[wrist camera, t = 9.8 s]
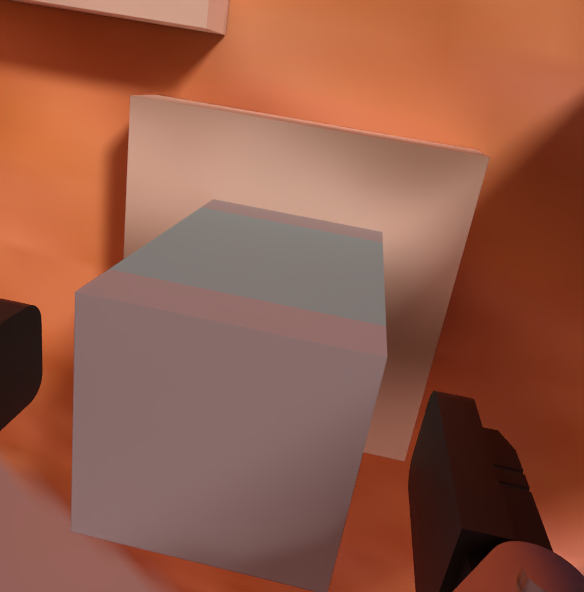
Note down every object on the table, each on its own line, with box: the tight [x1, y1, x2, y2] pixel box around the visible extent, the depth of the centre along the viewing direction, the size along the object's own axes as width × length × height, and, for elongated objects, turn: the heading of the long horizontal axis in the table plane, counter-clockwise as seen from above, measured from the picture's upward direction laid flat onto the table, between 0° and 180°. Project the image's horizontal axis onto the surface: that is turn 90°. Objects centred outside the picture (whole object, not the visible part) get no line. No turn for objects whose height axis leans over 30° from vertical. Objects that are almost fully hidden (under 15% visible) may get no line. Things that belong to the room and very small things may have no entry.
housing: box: [71, 199, 387, 592], centre depth 13 cm, size 5×5×8 cm
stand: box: [123, 95, 490, 461], centre depth 18 cm, size 10×10×2 cm
